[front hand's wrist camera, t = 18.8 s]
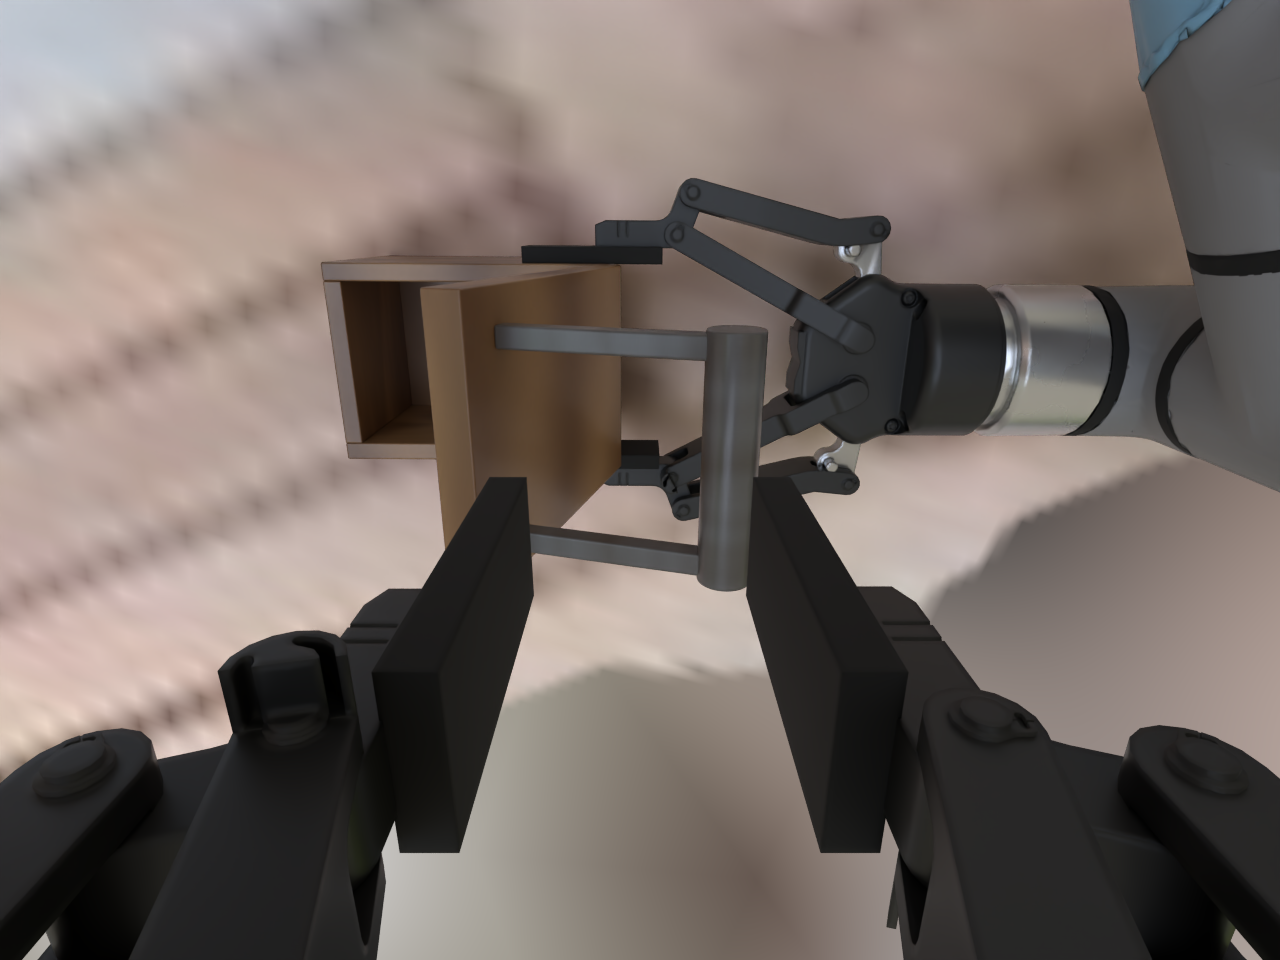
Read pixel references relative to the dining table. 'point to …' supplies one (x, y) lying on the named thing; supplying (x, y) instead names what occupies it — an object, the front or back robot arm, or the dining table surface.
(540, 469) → the brown piece
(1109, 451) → the dining table surface
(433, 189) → the dining table surface
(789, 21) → the dining table surface
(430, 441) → the chest
